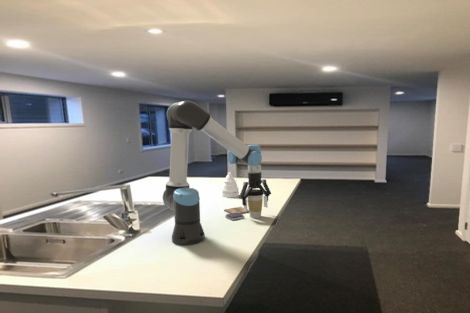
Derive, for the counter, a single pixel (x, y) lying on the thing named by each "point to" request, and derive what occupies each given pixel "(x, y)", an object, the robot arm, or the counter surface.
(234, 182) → the white tiered cone
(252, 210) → the coffee cup
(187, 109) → the robot arm
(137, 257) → the counter surface
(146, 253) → the counter surface
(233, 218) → the ink pad
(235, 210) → the board
